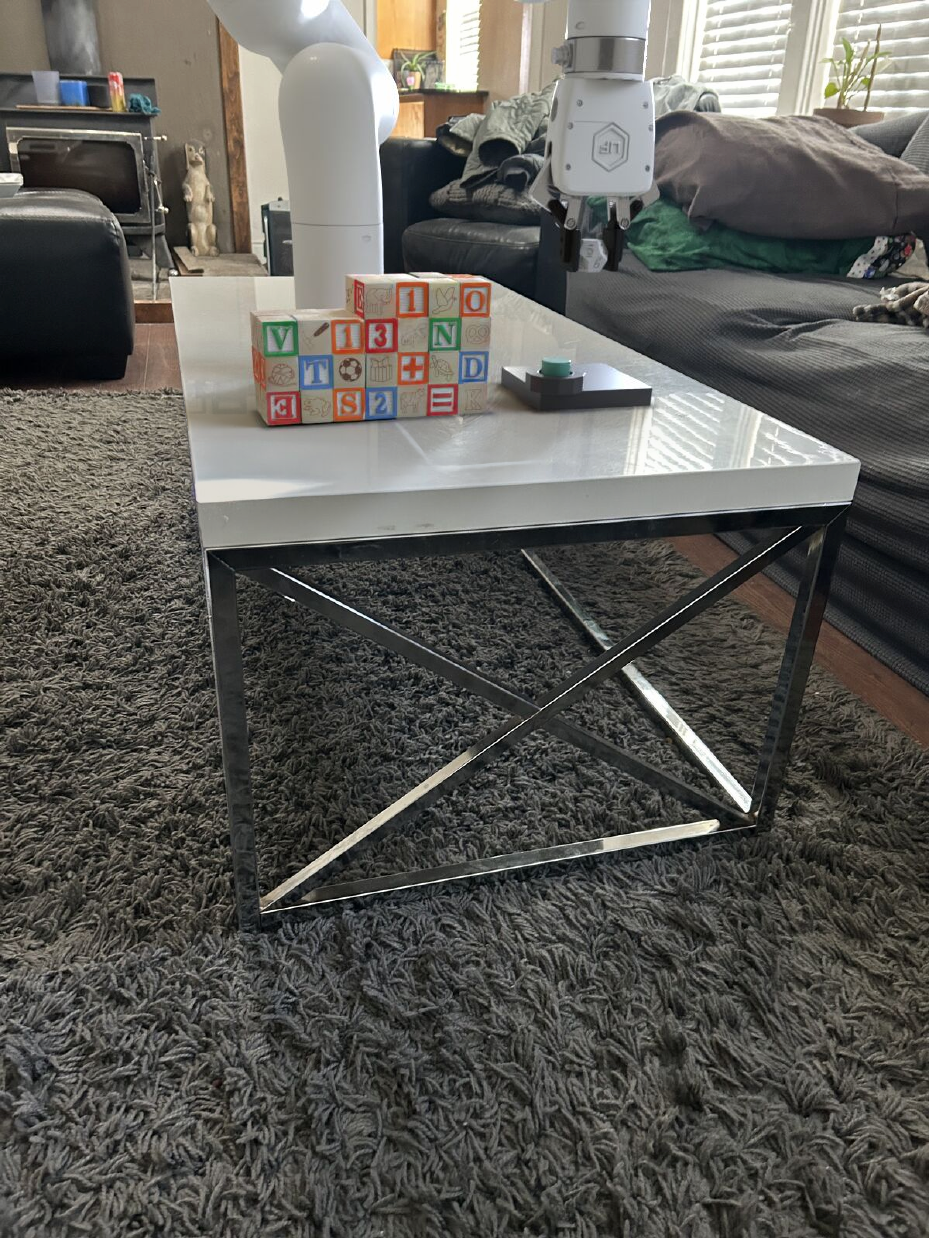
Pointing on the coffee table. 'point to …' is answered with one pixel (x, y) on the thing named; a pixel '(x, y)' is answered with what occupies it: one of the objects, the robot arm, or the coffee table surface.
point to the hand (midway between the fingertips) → (589, 268)
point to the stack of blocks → (377, 351)
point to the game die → (592, 255)
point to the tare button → (555, 366)
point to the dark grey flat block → (576, 388)
